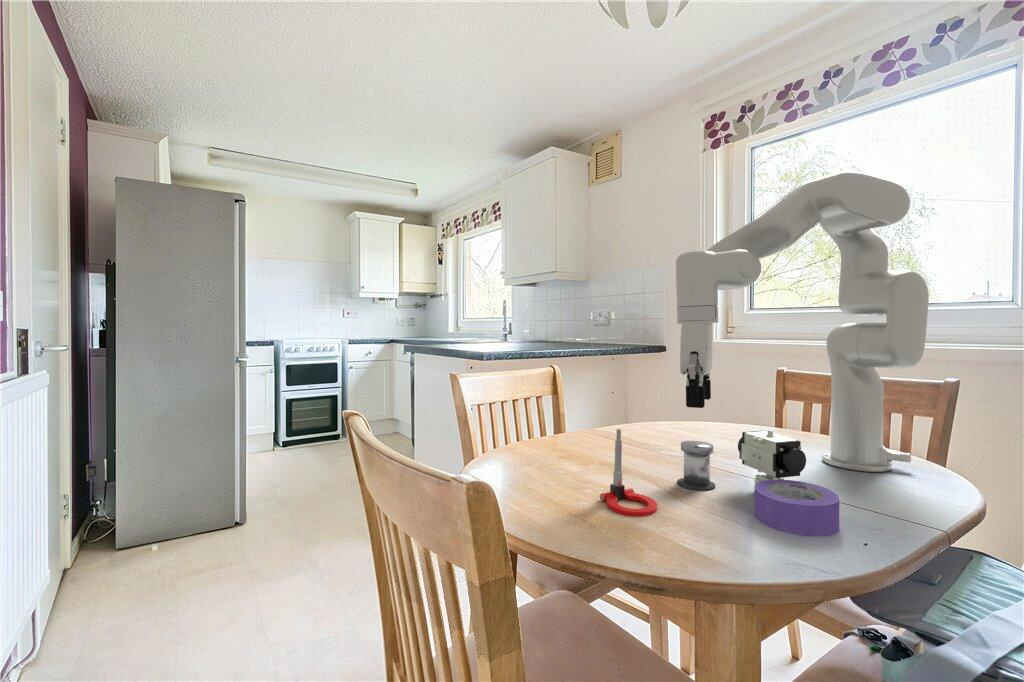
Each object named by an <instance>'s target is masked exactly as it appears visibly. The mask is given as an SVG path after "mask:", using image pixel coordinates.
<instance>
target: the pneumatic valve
mask: <svg viewBox="0 0 1024 682" xmlns="http://www.w3.org/2000/svg"><path fill="white" fill-rule="evenodd" d="M737 450H738V452H739V455H738V456H739V457H738V458H739V459H740V460H741V464H742V465H743V466H747V467H749V468H752V469H754V470H757V472H758V473H764V474H756V475H755V479H754V485H755V484H756V483H758V482H761V481H765V480H785V479H784V478H793V477H800V476H801V472H803V470H804V469H805V467H806V465H807V457H806V454H805V452H804V451H803V450H802V445H801V440H797V439H793V438H790V437H787V436H783V435H779V434H775V433H774V430H771V429H768V430H767V431H765V430H754V431H752V430H751V431H742V435H741V437H740V438H739V440H738V443H737Z"/></svg>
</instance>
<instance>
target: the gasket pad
mask: <svg viewBox="0 0 1024 682" xmlns="http://www.w3.org/2000/svg"><path fill="white" fill-rule="evenodd" d="M676 483H677V485H678V486H679V487H681V488H684V489H687V490H692V491H700V492H701V491H702V492H703V491H705V492H707V491H711V490H715V488H716V483H715V482H712V481H711V480H710V485H708V486H704V487H698V486H692V485H688V484H686V483H684V477H681V478H679V479H677V481H676Z"/></svg>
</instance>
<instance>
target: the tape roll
mask: <svg viewBox="0 0 1024 682" xmlns="http://www.w3.org/2000/svg"><path fill="white" fill-rule="evenodd" d="M753 487H754V488H753V489H754V491H753V493H754V496H753V497H754V501H753V502H754V503H753V507H754V511H753V513H754V515H755V516H754V518H755V517H756V518H755V519H756V520H757V521H758V522H759V521H760V522H759V523H761V524H762V523H763V525H764V526H767V527H768V528H771V529H773V528H774V530H776V529H777V530H776V531H780V532H782V531H783V532H784V533H786V534H790V533H791V534H790V535H796V536H802V537H803V536H804V537H815V538H816V537H817V538H818V537H820V538H821V537H831V536H834V535H836V534H837V532H838V533H839V531H840V496H839V494H837V493H836V492H834V491H833V490H831V489H829V488H826V487H824V486H821V485H817V484H814V483H810V482H806V481H799V480H793V479H792V480H790V479H784V480H765V481H761V482H758V483H756V484H755V483H754V486H753Z"/></svg>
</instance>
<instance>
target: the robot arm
mask: <svg viewBox="0 0 1024 682" xmlns="http://www.w3.org/2000/svg"><path fill="white" fill-rule="evenodd" d="M910 206H911V199H910V195H909V192H908V191H907V190H906V188H904V186H903V185H901V184H900V183H898V182H896V181H894V180H890V179H887V178H885V177H884V178H883V177H880V176H876V175H872V174H869V173H866V172H861V171H855V170H842V171H841V170H840V171H838V172H837V171H836V172H834V173H831V174H827V175H825V176H823V177H819V178H816V179H813V180H809V181H807V182H804V183H802V184H801V185H798V186H797V187H796V188H795V189H793V190H792V191H791V192H789V193H788V194H787V195H785V196H784V197H783V198H782V199H781V200H780V201H778V202H776V204H775V205H773V206H772V207H771V208H770V209H769V210H767V211H766V212H765V213H763V214H762V215H761V216H759V217H757V218H755V219H754V220H752V221H750V222H749V223H747V224H745V225H744V226H742V227H740V228H738V229H737V230H736V231H734V232H732V233H730V234H728V235H726V236H725V237H724V238H722V239H720V240H719V241H717V242H716V243H715V244H713V245H712V246H711V247H709V248H708V249H707V250H697V251H696V250H695V251H689V252H688V251H687V252H684V253H683V252H682V253H680V254H679V255H678V256H677V258H676V260H675V278H676V279H675V284H676V285H675V286H676V289H675V291H676V324H677V325H679V324H680V325H681V326H680V327H681V328H680V344H679V345H680V346H679V347H680V348H679V349H680V350H679V351H680V352H679V356H680V357H679V358H680V359H679V360H680V361H679V372H680V374H682V375H686V380H685V383H686V384H685V406H686V408H695V409H704V407H706V405H705V403H706V402H705V400H708V401H710V399H711V398H712V397H711V396H712V393H711V392H712V391H711V389H712V386H711V385H712V384H711V377H710V375H711V374H710V372H711V371H712V369H713V368H712V367H713V324H716V323H719V292H718V291H724V290H737V289H742V288H747V287H749V286H751V285H753V284H754V283H755V282H756V281H757V280H758V279H759V277H760V275H761V272H762V264H761V261H760V260H761V259H763V258H766V257H770V256H772V255H776V254H778V253H779V252H782V251H784V250H787V249H788V248H790V247H791V246H793V245H795V243H796V242H797V241H798V240H799V239H801V238H802V237H803V236H804V235H805V234H807V232H809V231H811V229H813V228H814V227H816V225H817V224H819V225H820V226H821V228H822V229H823V230H824V232H826V234H827V235H828V236H830V238H831V239H832V240H833V242H834V243H835V244H836V246H837V248H838V251H839V254H840V271H839V272H840V273H839V274H840V275H839V284H838V285H839V287H838V300H837V301H838V307H839V309H840V311H841V312H842V313H843V314H845V315H847V316H850V317H861V318H862V317H863V318H864V317H865V318H866V317H867V318H869V317H877V318H878V317H885V318H886V322H849V323H843V324H841V325H838V326H836V327H834V328H832V330H831V331H830V332H829V334H828V336H827V338H826V351H827V356H828V361H829V367H830V376H831V382H830V383H831V389H830V391H831V392H830V393H831V396H830V402H831V403H830V451H828V452H825V453H822V455H821V457H822V461H823V462H824V463H826V464H829V465H830V466H834V467H838V468H841V469H846V470H847V469H848V470H852V471H858V472H859V471H860V472H868V473H871V472H872V473H876V472H877V473H880V472H881V473H883V472H888V471H890V470H892V467H893V466H892V462H893V461H895V462H897V461H898V462H901V463H909V464H910V463H911V461H912V456H911V453H910V452H901V451H898V450H891V449H887V447H886V446H885V445H884V406H885V405H884V403H885V402H884V399H885V388H884V383H883V381H882V378H881V377H880V375H879V373H878V372H877V370H876V369H875V368H881V369H894V370H895V369H896V370H898V369H899V370H904V369H905V370H906V369H910V368H913V367H915V366H916V365H917V364H918V363H919V362H920V361H921V360H922V357H923V355H924V352H925V348H926V347H925V346H926V340H927V339H926V337H927V327H928V325H927V324H928V315H929V314H928V313H929V299H930V297H929V296H930V295H929V288H928V286H927V283H926V281H925V279H924V278H923V276H922V275H920V274H919V273H918V272H916V271H913V270H909V269H898V270H897V269H896V270H889V249H888V247H887V244H886V243H885V241H884V240H883V239H882V237H881V236H880V235H879V234H877V232H875V231H874V230H873V229H876V228H883V227H886V226H891V225H895V224H896V223H899V222H900V221H901V220H902V219H903V218H905V217H906V215H907V214H908V212H909V210H910Z"/></svg>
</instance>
